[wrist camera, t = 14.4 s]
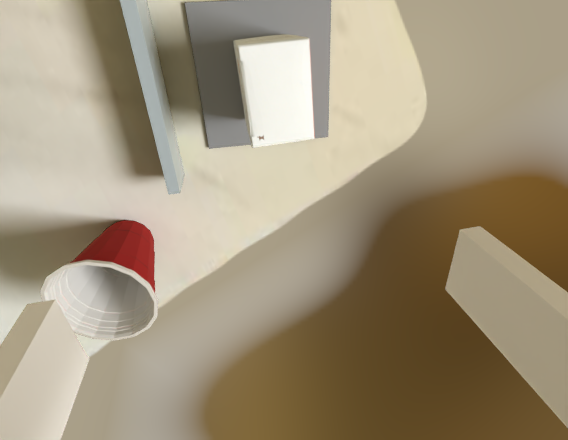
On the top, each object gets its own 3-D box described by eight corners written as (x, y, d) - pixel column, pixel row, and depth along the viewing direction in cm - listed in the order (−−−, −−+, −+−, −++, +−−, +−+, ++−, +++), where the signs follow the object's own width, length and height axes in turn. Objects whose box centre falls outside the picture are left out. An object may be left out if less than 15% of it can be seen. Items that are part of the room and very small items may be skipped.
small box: (293, 113, 38) (316, 142, 29) (244, 120, 37) (251, 151, 28) (287, 32, 34) (312, 36, 25) (231, 38, 33) (236, 44, 24)
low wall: (174, 175, 40) (168, 194, 35) (124, -36, 29) (108, -46, 25) (184, 174, 40) (180, 193, 35) (138, -36, 29) (125, -46, 25)
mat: (209, 147, 39) (209, 148, 38) (185, 2, 31) (184, 2, 31) (327, 135, 40) (328, 136, 40) (330, -5, 33) (331, -5, 33)
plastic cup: (61, 223, 40) (7, 292, 30) (141, 188, 40) (114, 245, 30) (117, 284, 46) (87, 358, 36) (188, 253, 45) (179, 320, 35)
